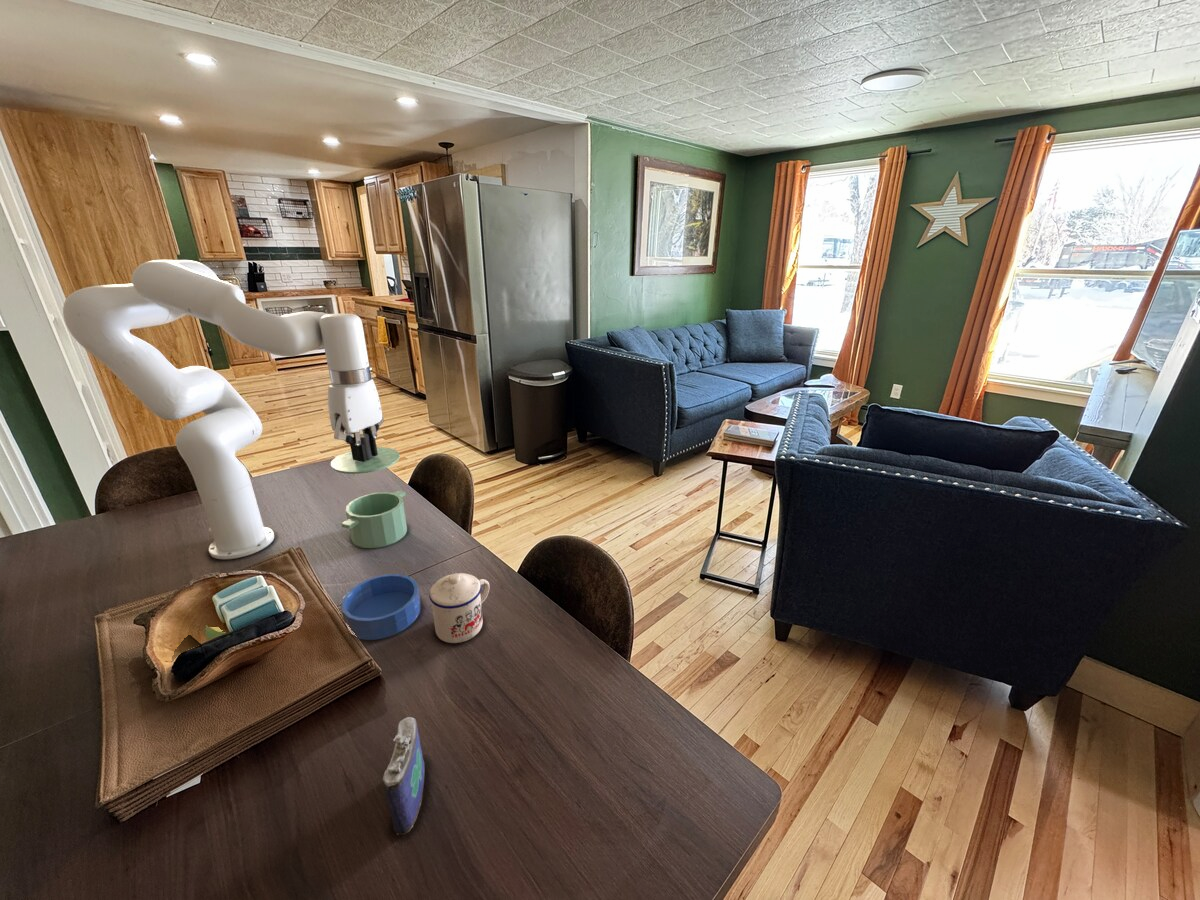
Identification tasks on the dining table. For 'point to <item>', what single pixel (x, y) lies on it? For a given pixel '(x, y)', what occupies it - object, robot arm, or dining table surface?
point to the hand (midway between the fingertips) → (365, 457)
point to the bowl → (381, 606)
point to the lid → (372, 463)
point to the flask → (405, 777)
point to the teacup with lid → (458, 606)
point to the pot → (376, 519)
